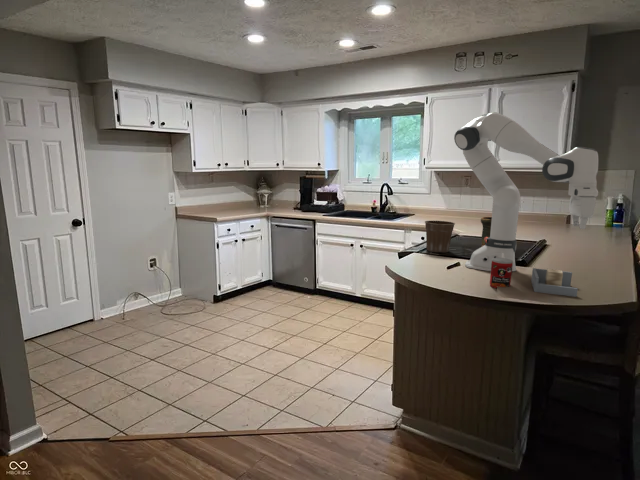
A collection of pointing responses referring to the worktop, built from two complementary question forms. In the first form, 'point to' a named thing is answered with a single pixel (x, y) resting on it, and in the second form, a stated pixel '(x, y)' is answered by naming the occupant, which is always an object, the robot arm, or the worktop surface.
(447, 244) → the plant pot
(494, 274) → the canned food
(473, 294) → the worktop surface
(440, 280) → the worktop surface
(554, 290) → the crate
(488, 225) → the vessel
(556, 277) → the birch block
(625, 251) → the worktop surface
